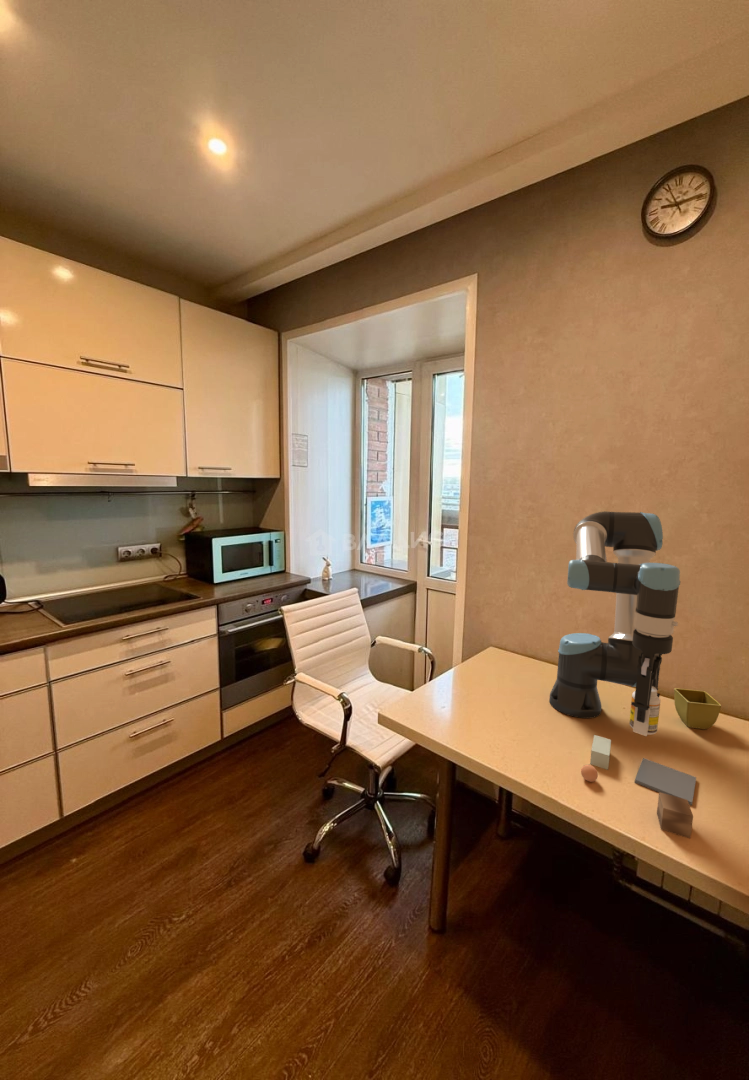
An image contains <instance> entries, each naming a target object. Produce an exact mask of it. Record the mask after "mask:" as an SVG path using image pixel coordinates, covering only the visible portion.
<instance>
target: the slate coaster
mask: <svg viewBox="0 0 749 1080" xmlns="http://www.w3.org/2000/svg"><path fill="white" fill-rule="evenodd" d="M638 767H639V768H638V771H637V773H636V775H635V778H634V783H635V784H638V785H640V786H642V787H645V788H647V789H649V790H652V791H655V792H658V793H659V792H661V793H664V794H668V795H672V796H675V797H679V798H682V799H686V800H688V803H689V806H690V807H691V806H693V801H694V800H693V799H694V794H695V788H696V782H697V777H696V776H694V775H691V774H688V773H685V772H683V771H680V770H677V769H675V768H672V767H670V766H666V765H664V764H661V763H659V762H655V761H653V760H650V759H648V758H646V757H642V760H641V762H640V765H639V766H638Z"/></svg>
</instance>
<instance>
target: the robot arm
mask: <svg viewBox="0 0 749 1080" xmlns="http://www.w3.org/2000/svg"><path fill="white" fill-rule="evenodd" d="M572 534H573V535H572V536H573V540H574V543H575V544H576V548H575V549H576V552H575V559H571V560H569V561H568V566H567V567H568V568H567V582H566V584H567V586H568V587H569V588H571V589H578V590H581V591H592V592H593V591H595V592H602V593H603V592H606V593H614V594H615V595H616V596H615V609H614V610H615V611H614V612H615V613H614V614H615V615H614V631H613V633H612V634H611V635H610V636H608V638H607V642H602V639H601V638H600V637H599V636H598V635H595V634H591V633H584V632H578V633H576V632H575V633H569V634H565V635H563V636H562V637H561V638H560V640H559V646H558V647H559V648H558V650H557V652H558V660H557V673H556V680H555V683H554V684H553V686H552V689H551V691H550V693H549V702H548V703H549V704H550V706H552V708H554V709H555V710H557V711H559V712H560V713H563V714H565V715H568V716H572V717H574V718H579V719H581V718H582V719H592V718H596V717H598V716H600V715H601V713H602V701H601V697H600V694H599V690H598V681H603V682H606V683H614V684H619V685H625V686H627V687H628V686H629V687H631V688H634V687H635V700H634V702H632V705H634V706H635V715H634V725H633V728H632V732H634V733H636V734H639V735H641V736H644V737H647V736H648V734H647V733H648V723H649V714H650V708H649V707H650V706H649V703H650V697H651V690H652V686H653V687H655V688H656V689H657V696H658V697H659V698H660V696H661V693H659V692H658V690H659V680H660V678H659V677H660V671H661V665H662V662H663V657H662V656H663V655H667V654H670V653H671V652H672V649H673V642H674V637H673V636H672V635H673V634H674V632H675V631H674V630H675V627H678V626H679V622H677V621H676V613H677V606H678V604H677V603H678V597H679V588H680V585H681V579H680V577H681V571H680V568H679V567H677V566H676V565H673V564H668V563H663V562H662V563H661V562H650V561H651V560H652V559H653V558H654V557H655V556H656V553H657V552H656V551H661V549H662V548H663V539H664V533H663V525H662V522H661V519H660V518H659V516H658V515H657V514H654V513H648V512H642V511H640V512H635V511H634V512H631V511H630V512H629V511H627V512H626V511H625V512H624V511H598V512H594V513H592V514H589V515H587V516H585V517H584V518H582V519H580V521H579V522H578V523H577V524H575V526H574V529H573V533H572ZM606 548H612V550H613V551H612V553H613V555H614V556H615V557H616V558H617V562H608V560H607V552H606Z"/></svg>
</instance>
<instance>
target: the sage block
mask: <svg viewBox="0 0 749 1080" xmlns="http://www.w3.org/2000/svg"><path fill="white" fill-rule="evenodd" d="M611 744H612V739H610V738H606V737H603V736H599V735H595V734H594V735H593V740H592V745H591V751H590V761H589V762H590V763H589V765H591V766H593V767H598V768H600V769H604V770H607V771H609V766H610V765H609V764H610V755H611Z"/></svg>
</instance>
